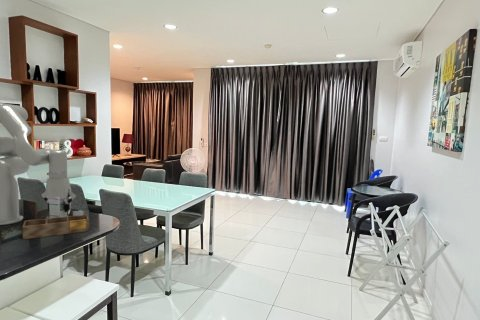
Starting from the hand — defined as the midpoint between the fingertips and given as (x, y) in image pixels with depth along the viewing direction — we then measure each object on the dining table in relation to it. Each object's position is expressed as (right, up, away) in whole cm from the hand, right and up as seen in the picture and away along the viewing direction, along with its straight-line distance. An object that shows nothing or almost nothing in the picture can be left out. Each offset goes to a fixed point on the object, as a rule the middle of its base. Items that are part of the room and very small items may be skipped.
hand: (59, 210), depth 146 cm
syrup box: (0, -7, +1) cm, 7 cm away
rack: (+5, -8, -9) cm, 13 cm away
